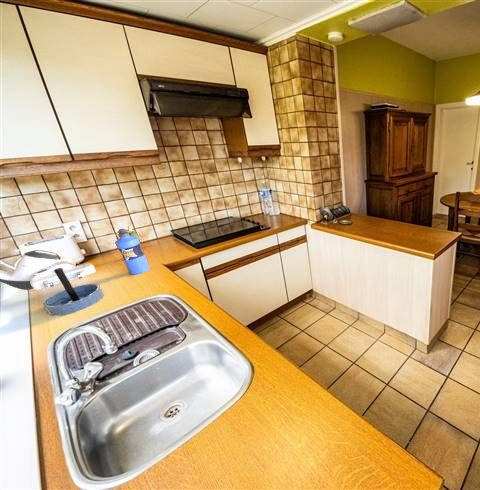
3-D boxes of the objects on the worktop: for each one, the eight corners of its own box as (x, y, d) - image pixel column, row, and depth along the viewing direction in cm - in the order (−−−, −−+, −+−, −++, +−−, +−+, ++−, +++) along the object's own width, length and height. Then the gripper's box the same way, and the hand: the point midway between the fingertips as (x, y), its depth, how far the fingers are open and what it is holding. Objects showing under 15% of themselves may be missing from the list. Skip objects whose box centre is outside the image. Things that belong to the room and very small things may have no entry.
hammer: (70, 309, 115) (47, 273, 108) (69, 304, 119) (47, 269, 112) (87, 303, 119) (67, 268, 112) (86, 299, 123) (66, 264, 115)
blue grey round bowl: (51, 324, 108) (43, 312, 106) (50, 308, 119) (42, 297, 116) (108, 303, 120) (102, 292, 118) (102, 290, 131) (96, 280, 128)
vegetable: (138, 254, 170) (125, 225, 162) (146, 253, 172) (134, 224, 164) (136, 257, 167) (123, 227, 159) (144, 255, 168) (132, 226, 160)
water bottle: (134, 268, 152) (115, 227, 142) (153, 265, 154) (136, 225, 144) (126, 276, 144) (105, 233, 133) (146, 273, 146) (127, 230, 136)
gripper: (96, 269, 135) (100, 277, 127) (36, 286, 121) (36, 297, 113) (90, 258, 133) (94, 265, 125) (28, 274, 119) (27, 284, 110)
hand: (66, 280), depth 119 cm, fingers open, 8 cm apart
